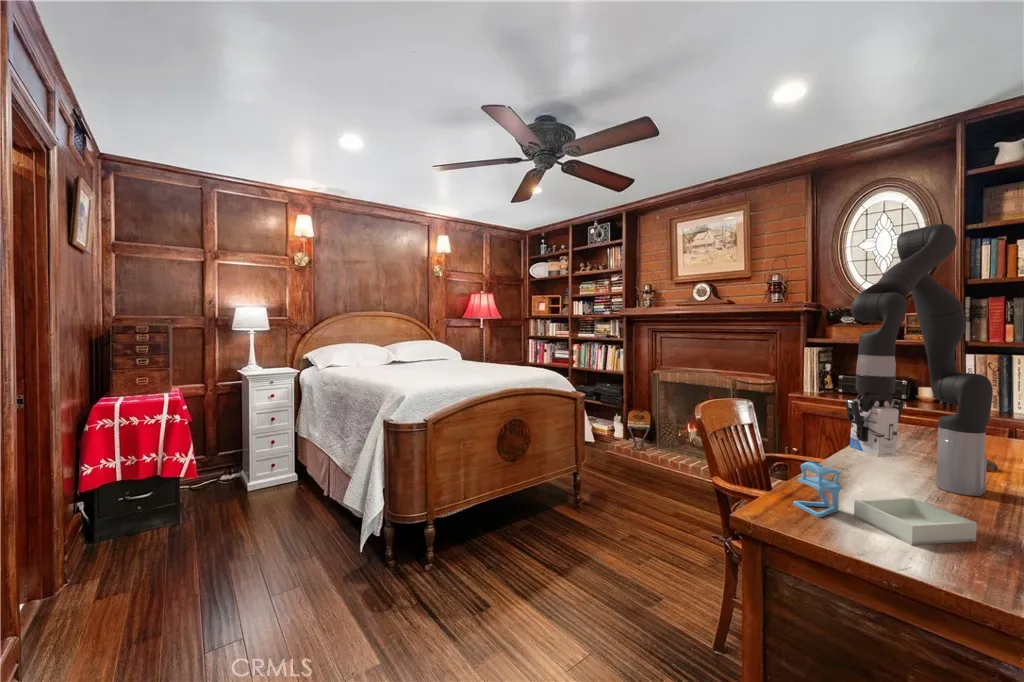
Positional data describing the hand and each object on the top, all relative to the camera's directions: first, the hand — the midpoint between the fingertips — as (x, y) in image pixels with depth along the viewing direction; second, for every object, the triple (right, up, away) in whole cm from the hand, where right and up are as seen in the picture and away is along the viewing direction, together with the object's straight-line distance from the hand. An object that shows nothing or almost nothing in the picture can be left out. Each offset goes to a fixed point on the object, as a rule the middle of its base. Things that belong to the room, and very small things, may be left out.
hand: (872, 440), depth 109 cm
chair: (-13, -18, 0) cm, 22 cm away
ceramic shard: (+58, -17, +37) cm, 71 cm away
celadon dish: (+1, -18, -10) cm, 20 cm away
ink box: (0, -3, 0) cm, 3 cm away
